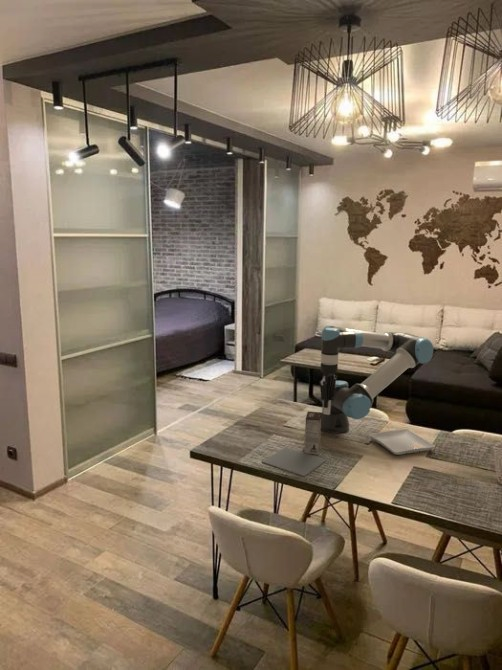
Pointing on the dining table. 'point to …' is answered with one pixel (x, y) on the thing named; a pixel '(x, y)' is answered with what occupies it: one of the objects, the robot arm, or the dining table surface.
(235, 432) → the dining table surface
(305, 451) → the coffee box
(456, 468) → the dining table surface
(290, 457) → the mat
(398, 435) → the salad plate
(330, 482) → the dining table surface
